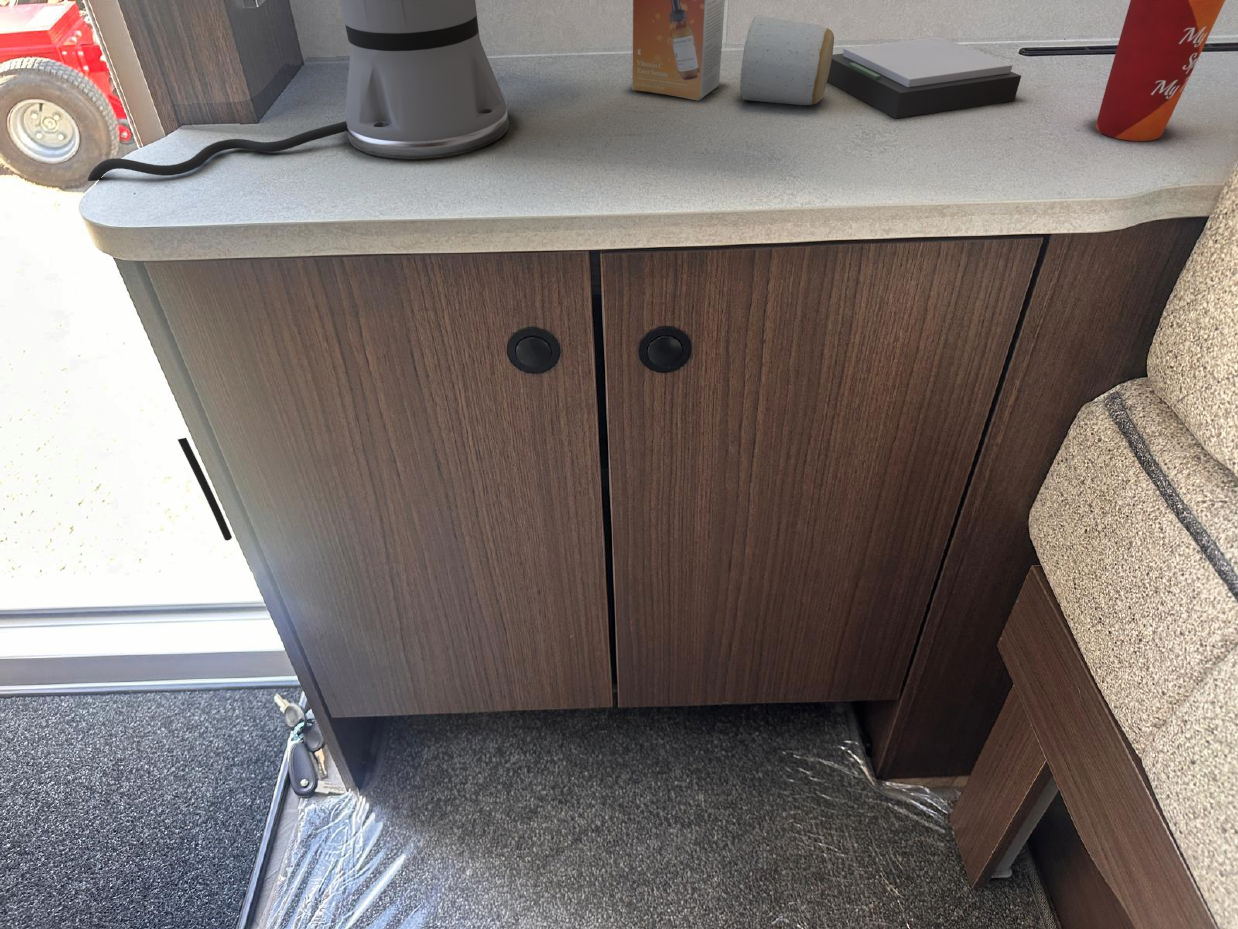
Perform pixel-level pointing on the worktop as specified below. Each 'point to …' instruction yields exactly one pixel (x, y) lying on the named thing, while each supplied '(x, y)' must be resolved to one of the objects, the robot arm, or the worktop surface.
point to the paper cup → (1153, 65)
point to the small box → (677, 46)
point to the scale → (922, 76)
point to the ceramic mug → (785, 61)
